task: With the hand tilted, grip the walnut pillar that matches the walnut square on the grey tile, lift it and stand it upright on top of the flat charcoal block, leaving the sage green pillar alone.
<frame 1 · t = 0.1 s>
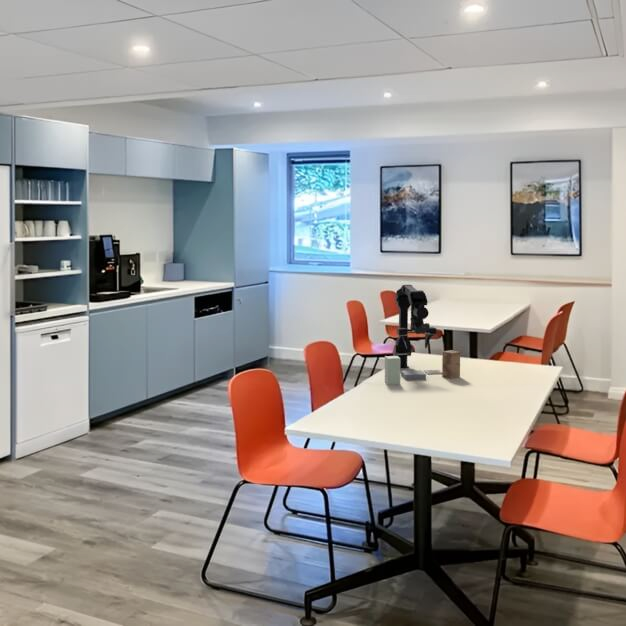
hand: (416, 348, 361), 14 cm above the table, tool pointing down, fingers open, 9 cm apart
walnut pillar: (451, 376, 365), on the table
slate block: (413, 378, 364), on the table
sage pillar: (392, 383, 352), on the table
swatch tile: (433, 372, 376), on the table
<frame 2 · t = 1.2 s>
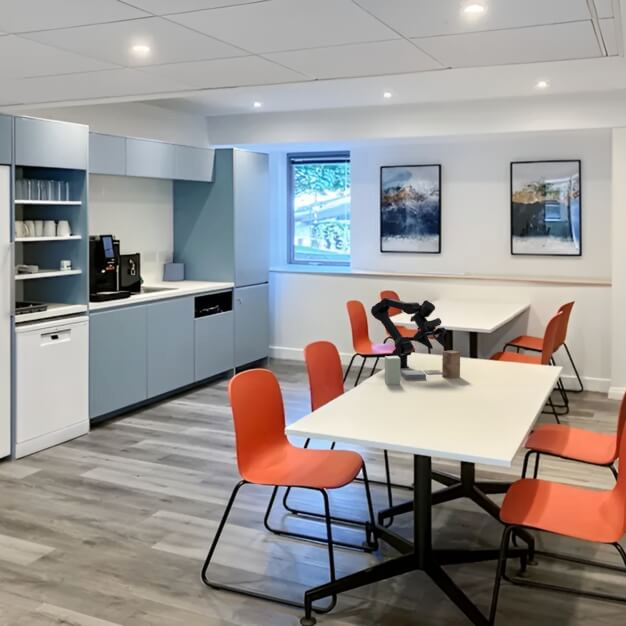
hand: (438, 347, 370), 13 cm above the table, tool tilted 45°, fingers open, 9 cm apart
nothing on the table moved.
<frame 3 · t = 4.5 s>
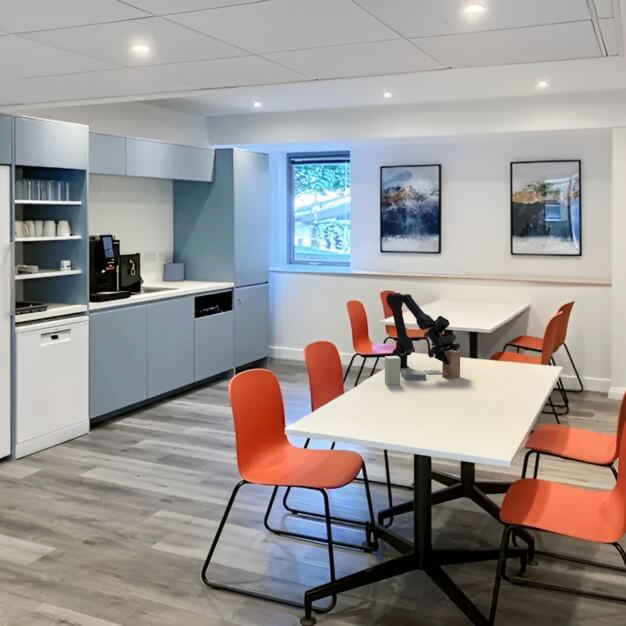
hand: (453, 363, 363), 7 cm above the table, tool tilted 45°, fingers closed on walnut pillar, 6 cm apart
walnut pillar: (451, 376, 365), on the table, touching gripper
everything else where it was.
when the fingers open (10 cm above the table, at t = 8.7 s): walnut pillar drops 1 cm, resting on slate block.
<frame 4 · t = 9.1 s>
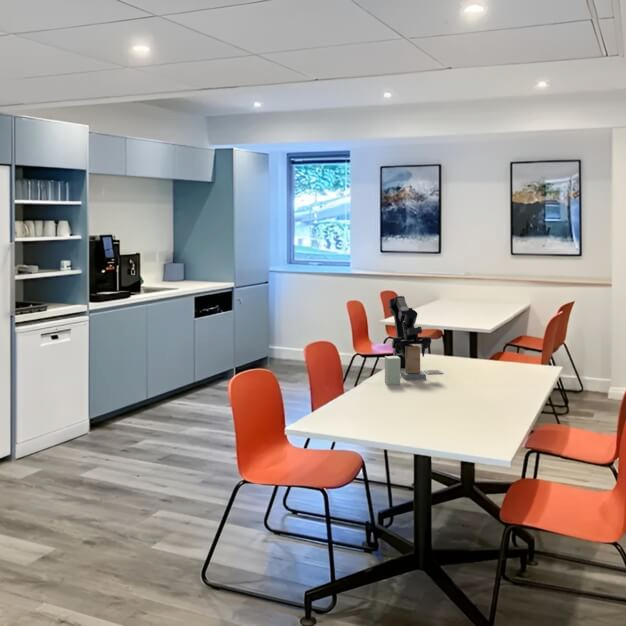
hand: (414, 356, 362), 11 cm above the table, tool tilted 45°, fingers open, 9 cm apart
walnut pillar: (412, 372, 364), point 3 cm above the table, touching slate block
slate block: (413, 378, 364), on the table, touching walnut pillar
everything else where it was.
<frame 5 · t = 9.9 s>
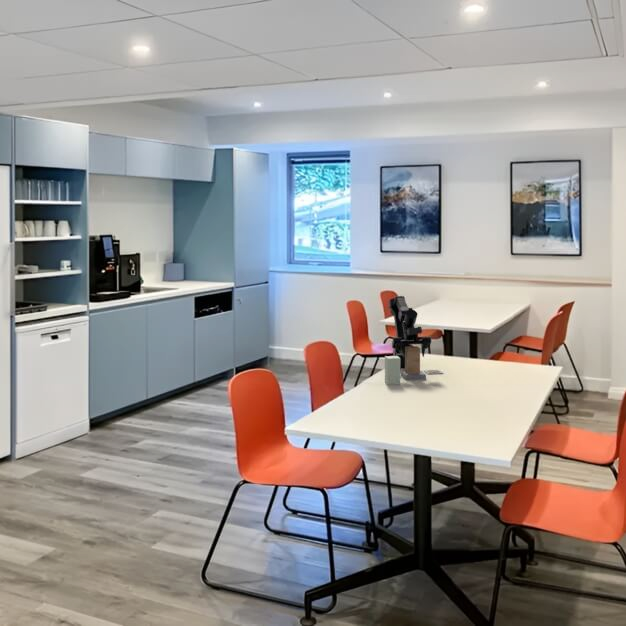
hand: (414, 356, 362), 11 cm above the table, tool tilted 45°, fingers open, 9 cm apart
nothing on the table moved.
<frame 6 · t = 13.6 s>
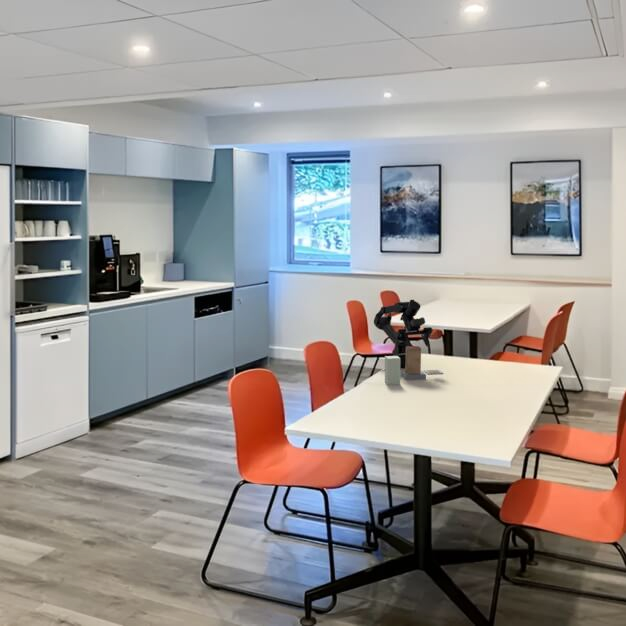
hand: (419, 346, 372), 14 cm above the table, tool tilted 45°, fingers open, 9 cm apart
nothing on the table moved.
at the end: walnut pillar 0.4 cm off-centre on the slate block, point 3.1 cm above the slate block's base; walnut pillar tilted 2°; the gripper is holding nothing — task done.
